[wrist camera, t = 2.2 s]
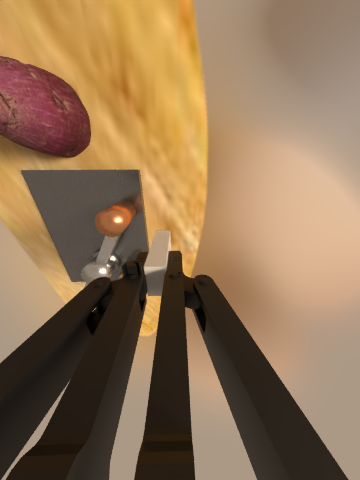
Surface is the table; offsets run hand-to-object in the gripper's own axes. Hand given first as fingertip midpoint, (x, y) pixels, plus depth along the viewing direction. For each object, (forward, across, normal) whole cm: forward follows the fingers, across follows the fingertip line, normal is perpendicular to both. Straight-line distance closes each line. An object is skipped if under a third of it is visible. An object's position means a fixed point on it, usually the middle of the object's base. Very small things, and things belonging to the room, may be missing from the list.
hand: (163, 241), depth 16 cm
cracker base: (+15, -15, -5) cm, 22 cm away
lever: (+12, -13, -7) cm, 19 cm away
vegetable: (+15, -17, +14) cm, 27 cm away
